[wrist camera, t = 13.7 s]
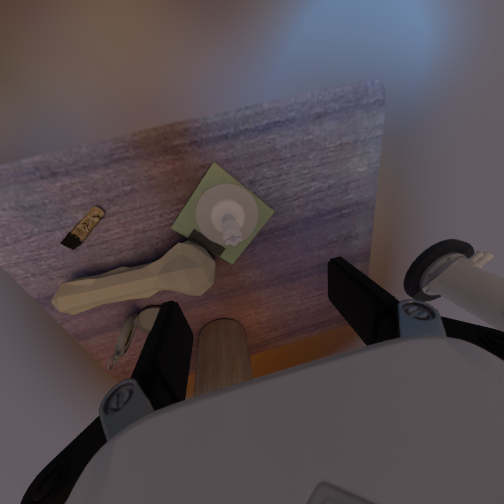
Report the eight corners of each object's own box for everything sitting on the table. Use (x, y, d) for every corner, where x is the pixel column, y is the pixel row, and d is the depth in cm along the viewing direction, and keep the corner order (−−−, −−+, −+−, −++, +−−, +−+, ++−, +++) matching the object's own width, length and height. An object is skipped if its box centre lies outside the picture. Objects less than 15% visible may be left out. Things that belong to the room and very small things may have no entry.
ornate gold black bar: (76, 249, 28) (73, 252, 27) (62, 241, 27) (58, 243, 26) (108, 212, 26) (105, 214, 26) (94, 203, 26) (90, 204, 25)
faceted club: (225, 278, 34) (87, 312, 33) (212, 231, 32) (66, 266, 31) (220, 299, 25) (33, 346, 24) (202, 237, 23) (0, 286, 23)
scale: (213, 161, 26) (213, 161, 24) (270, 208, 31) (276, 212, 28) (173, 223, 29) (169, 229, 26) (231, 258, 33) (232, 266, 31)
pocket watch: (180, 324, 38) (170, 374, 29) (139, 337, 37) (115, 392, 28) (163, 293, 34) (145, 340, 25) (116, 307, 33) (81, 359, 24)
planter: (208, 356, 43) (203, 527, 23) (191, 327, 38) (165, 510, 18) (249, 342, 43) (280, 498, 23) (237, 312, 39) (262, 473, 19)
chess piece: (205, 203, 26) (201, 225, 17) (240, 195, 26) (254, 212, 17) (215, 236, 28) (216, 271, 19) (247, 228, 28) (263, 258, 19)
